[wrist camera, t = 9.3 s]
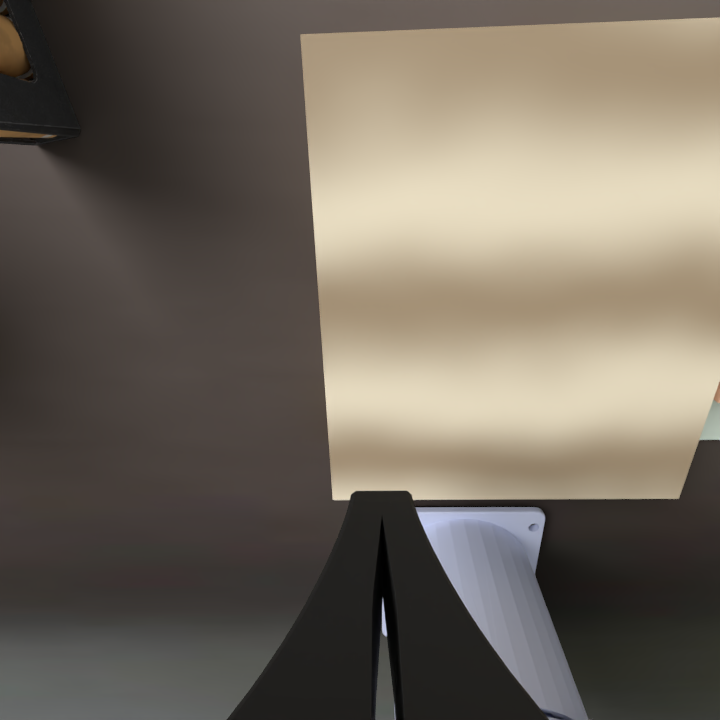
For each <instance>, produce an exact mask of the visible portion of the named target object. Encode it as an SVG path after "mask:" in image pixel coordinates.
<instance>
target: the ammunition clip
mask: <svg viewBox="0 0 720 720" xmlns="http://www.w3.org/2000/svg"><path fill="white" fill-rule="evenodd" d="M80 130H81V129H80V126H79V124H78V121H77V119H76V116H75V114H74V111H73V108H72V106H71V103H70V101H69V98H68V96H67V93H66V90H65V88H64V85H63V83H62V80H61V78H60V75H59V73H58V70H57V67H56V65H55V62H54V60H53V57H52V55H51V52H50V50H49V47H48V44H47V42H46V39H45V37H44V34H43V32H42V29H41V26H40V24H39V21H38V19H37V16H36V14H35V11H34V9H33V6H32V3H31V1H30V0H0V143H5V144H20V145H39V144H44V143H49V142H54V141H58V140H63V139H68V138H72V137H77V136H79V133H80Z"/></svg>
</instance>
